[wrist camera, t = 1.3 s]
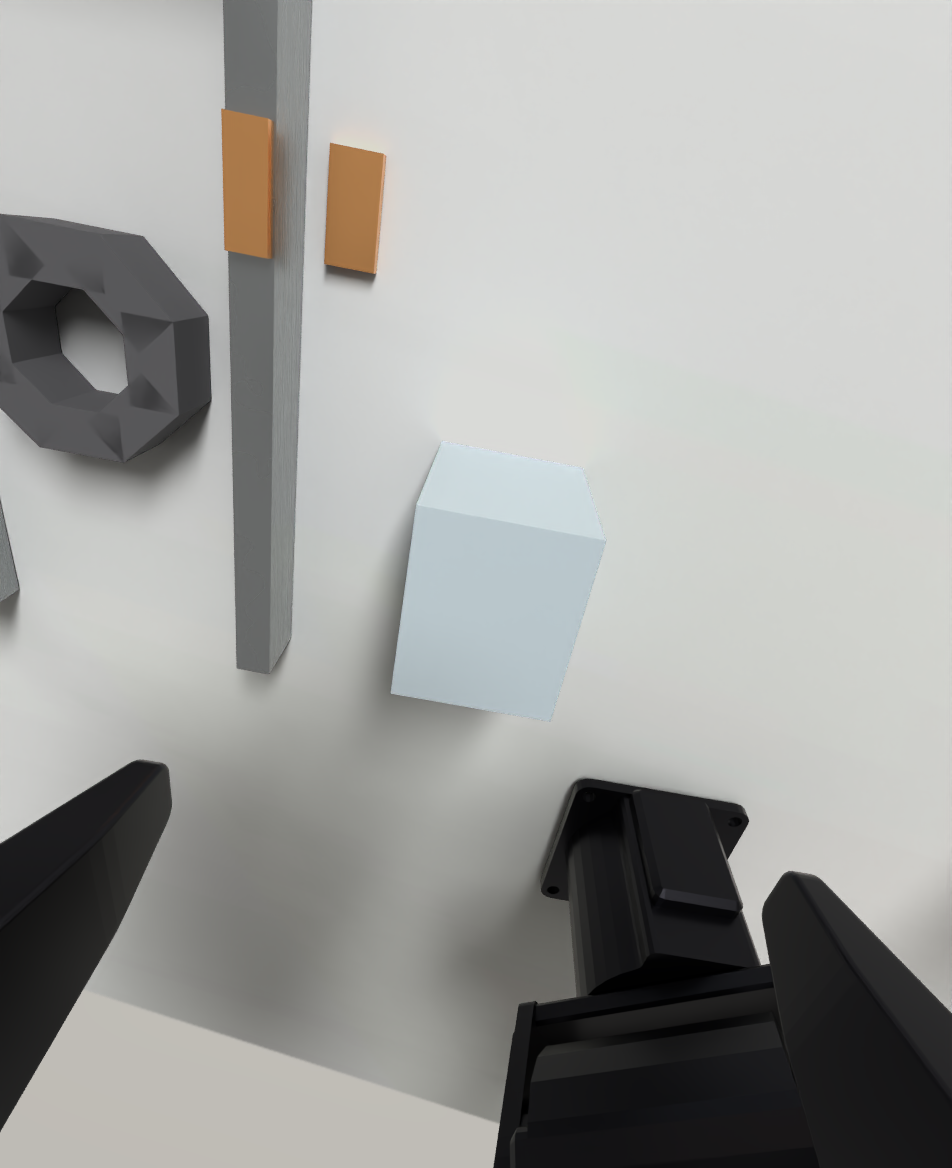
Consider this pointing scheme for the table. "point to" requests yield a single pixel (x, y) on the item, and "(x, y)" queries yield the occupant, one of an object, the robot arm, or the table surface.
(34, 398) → the ring
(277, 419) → the channel
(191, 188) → the table surface
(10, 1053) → the robot arm
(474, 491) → the pale blue cuboid
